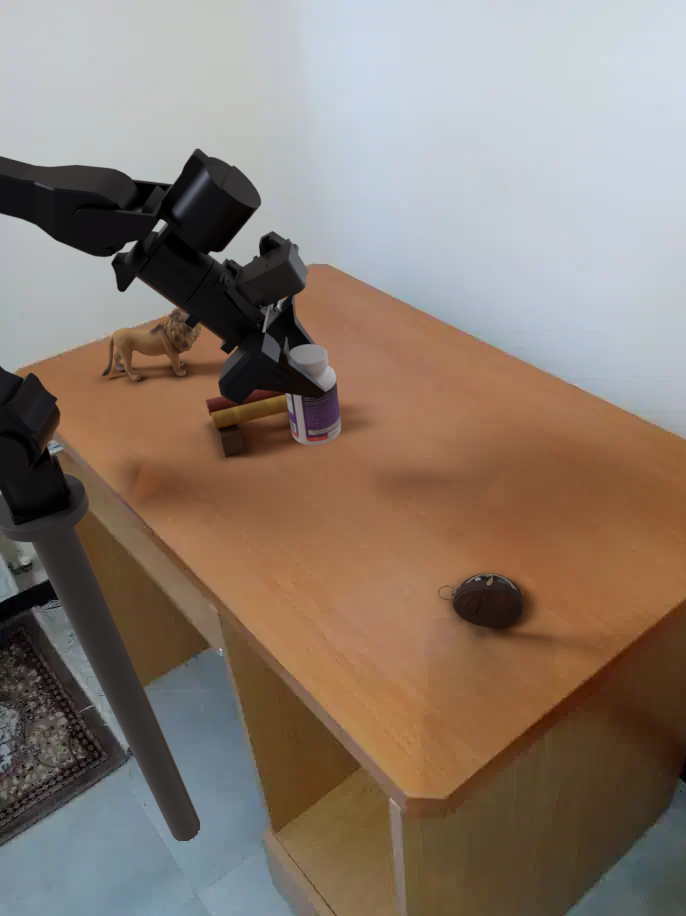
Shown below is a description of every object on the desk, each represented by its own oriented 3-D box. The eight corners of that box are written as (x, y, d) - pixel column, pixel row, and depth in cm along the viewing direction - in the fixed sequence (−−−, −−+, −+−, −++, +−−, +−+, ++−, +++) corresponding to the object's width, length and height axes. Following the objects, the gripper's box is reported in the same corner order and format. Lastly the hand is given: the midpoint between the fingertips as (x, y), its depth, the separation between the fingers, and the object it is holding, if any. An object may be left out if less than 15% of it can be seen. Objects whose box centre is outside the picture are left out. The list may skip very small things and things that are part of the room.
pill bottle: (349, 424, 87) (343, 345, 80) (326, 452, 83) (318, 372, 77) (306, 414, 89) (297, 336, 82) (282, 440, 85) (270, 361, 79)
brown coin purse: (522, 581, 77) (528, 526, 72) (519, 644, 72) (524, 589, 67) (441, 574, 79) (441, 520, 74) (431, 635, 73) (430, 581, 68)
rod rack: (222, 457, 94) (214, 423, 91) (210, 426, 99) (202, 392, 96) (326, 430, 98) (322, 396, 94) (309, 402, 102) (305, 368, 99)
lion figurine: (209, 354, 113) (196, 295, 107) (211, 373, 109) (197, 313, 103) (103, 370, 111) (84, 310, 105) (102, 389, 107) (81, 329, 101)
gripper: (233, 265, 63) (377, 379, 71) (258, 183, 77) (376, 285, 85) (158, 355, 69) (298, 452, 76) (194, 263, 83) (310, 353, 90)
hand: (323, 380), depth 82 cm, fingers closed on pill bottle, 5 cm apart
